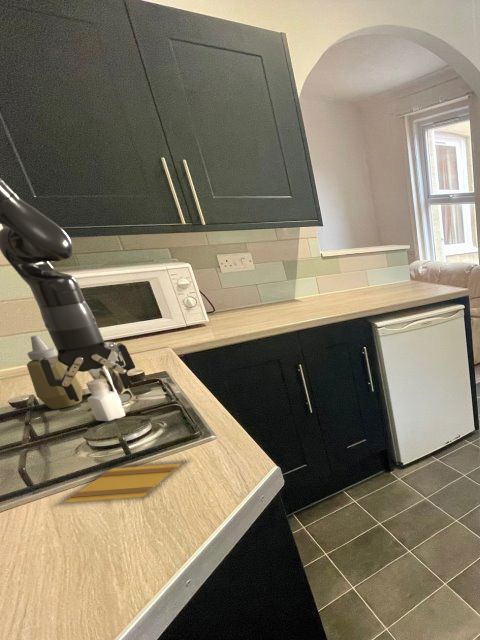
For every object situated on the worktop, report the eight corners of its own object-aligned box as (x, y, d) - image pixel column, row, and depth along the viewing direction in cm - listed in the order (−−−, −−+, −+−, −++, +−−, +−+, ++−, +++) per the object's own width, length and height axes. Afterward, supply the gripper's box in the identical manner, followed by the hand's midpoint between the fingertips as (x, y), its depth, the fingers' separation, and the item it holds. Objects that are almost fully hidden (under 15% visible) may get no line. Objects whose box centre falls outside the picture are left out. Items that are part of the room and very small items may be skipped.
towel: (65, 505, 68) (63, 502, 67) (113, 471, 77) (112, 467, 77) (143, 499, 69) (142, 496, 68) (182, 466, 78) (181, 462, 78)
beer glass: (107, 409, 103) (82, 351, 97) (98, 403, 106) (73, 347, 101) (142, 399, 108) (120, 343, 103) (132, 394, 112) (110, 340, 106)
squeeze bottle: (54, 413, 101) (20, 342, 95) (36, 409, 104) (1, 339, 98) (95, 400, 108) (65, 333, 102) (77, 396, 111) (47, 330, 104)
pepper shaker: (109, 423, 95) (92, 385, 92) (95, 422, 96) (78, 384, 93) (127, 415, 99) (112, 378, 96) (114, 414, 100) (98, 377, 96)
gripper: (112, 316, 96) (138, 381, 103) (22, 329, 86) (56, 400, 93) (118, 320, 92) (145, 388, 98) (24, 335, 82) (60, 409, 88)
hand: (102, 394), depth 95 cm, fingers open, 8 cm apart
